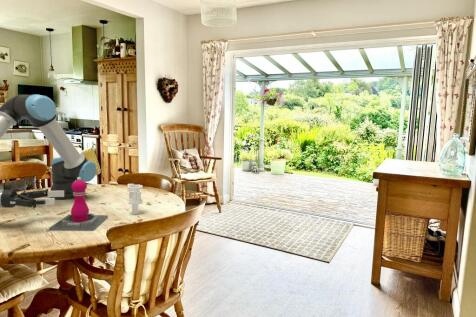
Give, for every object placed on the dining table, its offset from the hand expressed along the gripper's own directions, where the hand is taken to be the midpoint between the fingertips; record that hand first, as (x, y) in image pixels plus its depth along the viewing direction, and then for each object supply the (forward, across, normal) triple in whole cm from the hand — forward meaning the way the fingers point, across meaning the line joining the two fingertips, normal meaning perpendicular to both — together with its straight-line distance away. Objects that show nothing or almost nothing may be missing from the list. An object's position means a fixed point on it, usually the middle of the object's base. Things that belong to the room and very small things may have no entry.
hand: (59, 197), depth 142 cm
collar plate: (+8, 0, -12) cm, 14 cm away
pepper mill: (+8, 0, -11) cm, 14 cm away
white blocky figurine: (+31, -12, -12) cm, 35 cm away
